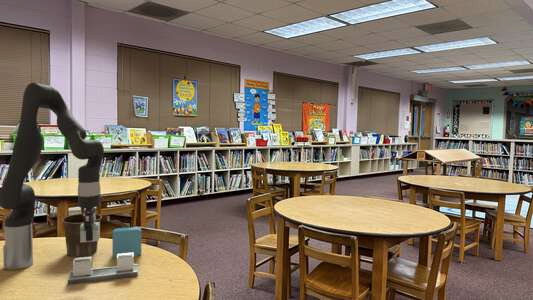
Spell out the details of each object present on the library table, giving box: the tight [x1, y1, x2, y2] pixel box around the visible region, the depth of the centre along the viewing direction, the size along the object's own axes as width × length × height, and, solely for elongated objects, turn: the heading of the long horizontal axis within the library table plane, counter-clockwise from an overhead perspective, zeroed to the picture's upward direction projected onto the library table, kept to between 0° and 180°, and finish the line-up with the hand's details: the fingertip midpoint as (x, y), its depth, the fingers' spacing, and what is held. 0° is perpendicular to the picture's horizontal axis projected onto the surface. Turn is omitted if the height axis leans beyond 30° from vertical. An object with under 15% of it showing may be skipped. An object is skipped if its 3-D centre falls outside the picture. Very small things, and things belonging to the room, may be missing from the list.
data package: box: [111, 226, 142, 259], centre depth 158 cm, size 12×4×12 cm, turn 112°
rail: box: [67, 252, 139, 286], centre depth 136 cm, size 24×8×8 cm, turn 111°
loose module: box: [80, 222, 101, 243], centre depth 132 cm, size 6×5×6 cm
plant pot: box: [61, 213, 103, 258], centre depth 160 cm, size 16×16×16 cm
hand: (90, 238), depth 132 cm, fingers closed on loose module, 4 cm apart
